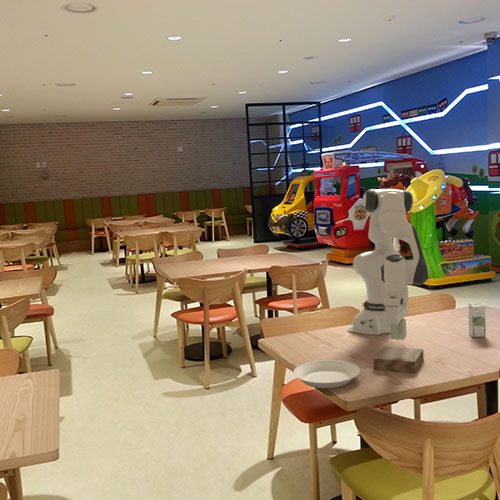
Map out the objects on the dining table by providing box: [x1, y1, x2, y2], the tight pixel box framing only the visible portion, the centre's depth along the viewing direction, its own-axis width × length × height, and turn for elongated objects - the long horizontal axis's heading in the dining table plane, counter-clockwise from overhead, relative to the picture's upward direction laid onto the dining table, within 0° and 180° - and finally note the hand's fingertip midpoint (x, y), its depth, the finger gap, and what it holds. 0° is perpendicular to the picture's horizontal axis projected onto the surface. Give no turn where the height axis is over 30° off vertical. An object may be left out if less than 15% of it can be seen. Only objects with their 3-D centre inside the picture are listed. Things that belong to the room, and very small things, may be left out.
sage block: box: [390, 318, 407, 341], centre depth 227 cm, size 5×5×7 cm
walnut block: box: [372, 346, 425, 374], centre depth 229 cm, size 16×16×5 cm
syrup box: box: [468, 302, 487, 338], centre depth 258 cm, size 6×6×14 cm
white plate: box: [292, 359, 361, 389], centre depth 219 cm, size 25×25×4 cm
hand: (398, 331), depth 227 cm, fingers closed on sage block, 5 cm apart
